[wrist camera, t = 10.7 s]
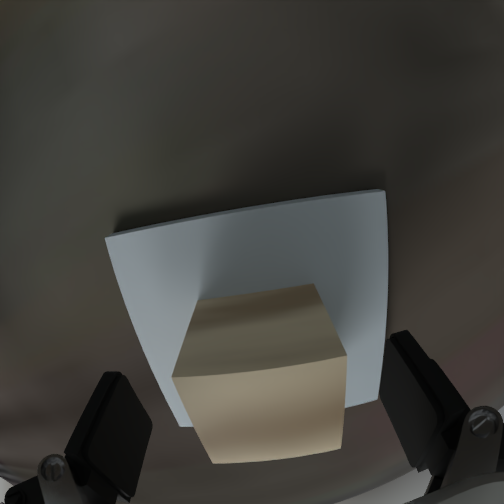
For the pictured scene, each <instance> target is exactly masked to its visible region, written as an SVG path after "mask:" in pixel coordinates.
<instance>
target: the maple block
mask: <svg viewBox="0 0 504 504" xmlns="http://www.w3.org/2000/svg"><path fill="white" fill-rule="evenodd" d="M346 376H347V354H346V351H345V349H344V347H343V345H342V343H341V340H340V338H339V336H338V334H337V332H336V330H335V327H334V325H333V323H332V321H331V319H330V317H329V314H328V312H327V310H326V308H325V306H324V304H323V302H322V300H321V298H320V295H319V293H318V291H317V289H316V287H315V285H314V283H312V284H306V285H300V286H294V287H288V288H281V289H275V290H268V291H262V292H255V293H248V294H241V295H234V296H226V297H219V298H211V299H204V300H197V303H196V306H195V309H194V312H193V315H192V317H191V320H190V323H189V326H188V329H187V332H186V335H185V338H184V341H183V344H182V346H181V349H180V352H179V355H178V358H177V361H176V364H175V367H174V370H173V374H172V377H171V378H172V381H173V383H174V385H175V388H176V390H177V392H178V394H179V397H180V399H181V401H182V403H183V405H184V407H185V410H186V412H187V414H188V416H189V418H190V420H191V422H192V424H193V426H194V428H195V430H196V432H197V434H198V436H199V438H200V440H201V442H202V444H203V446H204V448H205V450H206V452H207V453H208V455H209V457H210V459H211V461H212V463H241V462H255V461H267V460H276V459H284V458H292V457H298V456H305V455H311V454H316V453H322V452H327V451H332V450H336V449H341V441H342V432H343V421H344V409H345V394H346Z"/></svg>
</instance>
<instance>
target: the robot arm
mask: <svg viewBox="0 0 504 504" xmlns="http://www.w3.org/2000/svg"><path fill="white" fill-rule="evenodd" d="M379 394H380V398H381V401H382V403H383V405H384V407H385V409H386V411H387V414H388V416H389V418H390V420H391V422H392V424H393V427H394V429H395V431H396V433H397V436H398V438H399V440H400V442H401V445H402V447H403V449H404V451H405V454H406V456H407V458H408V461H409V463H410V465H411V466H412V467H416V468H417V471H418V472H421V471H423V470H426V469H429V471H430V473H431V475H432V477H431V480H430V483H429V485H428V487H427V490H426V492H425V494H424V496H422V497H419V498H417V499H414V500H412V501H410V502H407V503H404V504H504V423H503V419H502V417H501V415H500V413H499V412H498V411H497V410H496V409H494V408H492V407H489V406H479V407H475V408H474V409H472V410H470V408H469V407H468V405H467V404H466V403H465V401H464V400H463V398H462V397H461V395H460V394H459V393H458V391H457V390H456V388H455V387H454V386H453V384H452V383H451V382H450V380H449V379H448V377H447V376H446V375H445V373H444V372H443V371H442V369H441V368H440V367H439V365H438V364H437V363H436V362H435V361H434V360H433V359H430V358H429V357H428V356H427V354H426V353H425V352H424V350H423V349H422V348H421V347H420V345H419V344H418V343H417V341H416V340H415V339H414V338H413V336H412V335H411V334H410V332H409V331H408V330H404V331H400V332H397V333H393V334H391V336H390V339H387V341H386V348H385V356H384V363H383V371H382V377H381V384H380V390H379ZM151 431H152V421H151V419H150V417H149V416H148V414H147V412H146V411H145V409H144V408H143V406H142V404H141V402H140V401H139V399H138V397H137V396H136V394H135V392H134V390H133V388H132V387H131V385H130V383H129V381H128V379H127V378H126V376H124V375H122V373H121V372H105V373H104V374H103V376H102V377H101V379H100V381H99V383H98V385H97V387H96V389H95V390H94V392H93V394H92V396H91V398H90V400H89V402H88V404H87V406H86V408H85V410H84V412H83V414H82V416H81V417H80V419H79V421H78V424H77V426H76V428H75V430H74V432H73V434H72V436H71V438H70V440H69V442H68V444H67V446H66V448H65V451H64V453H65V454H66V455H65V458H64V457H63V456H61V455H59V454H51V455H48V456H46V457H45V458H43V459H42V460H41V462H40V463H39V465H38V469H37V475H38V476H35V477H33V478H31V479H29V480H27V481H24V482H22V483H20V484H17V485H15V486H13V487H11V488H9V490H8V491H7V492H6V495H5V499H4V500H5V504H115V503H116V500H117V501H122V502H127V503H130V499H131V497H133V496H134V495H135V492H136V488H137V484H138V480H139V476H140V472H141V468H142V464H143V460H144V457H145V453H146V449H147V445H148V442H149V438H150V435H151ZM0 504H4V503H3V502H1V503H0Z"/></svg>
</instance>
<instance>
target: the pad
mask: <svg viewBox="0 0 504 504" xmlns="http://www.w3.org/2000/svg"><path fill="white" fill-rule="evenodd" d="M105 241H106V245H107V248H108V252H109V255H110V258H111V262H112V265H113V268H114V272H115V275H116V278H117V281H118V284H119V287H120V290H121V293H122V296H123V299H124V302H125V304H126V307H127V310H128V313H129V315H130V318H131V321H132V323H133V326H134V328H135V331H136V334H137V336H138V338H139V341H140V343H141V346H142V348H143V351H144V353H145V355H146V358H147V360H148V362H149V364H150V367H151V369H152V371H153V373H154V375H155V378H156V380H157V382H158V384H159V386H160V388H161V390H162V392H163V394H164V396H165V398H166V400H167V402H168V404H169V406H170V408H171V410H172V412H173V414H174V416H175V418H176V420H177V422H178V423H179V425H180V427H190V426H193V424H192V422H191V420H190V418H189V416H188V414H187V412H186V410H185V407H184V405H183V403H182V401H181V399H180V397H179V394H178V392H177V390H176V388H175V385H174V383H173V381H172V378H171V377H172V374H173V370H174V367H175V364H176V361H177V358H178V355H179V352H180V349H181V346H182V344H183V341H184V338H185V335H186V332H187V329H188V326H189V323H190V320H191V317H192V315H193V312H194V309H195V306H196V303H197V300H204V299H211V298H219V297H226V296H234V295H241V294H248V293H255V292H262V291H268V290H275V289H281V288H288V287H294V286H300V285H306V284H312V283H314V285H315V287H316V289H317V291H318V293H319V295H320V298H321V300H322V302H323V304H324V306H325V308H326V310H327V312H328V314H329V317H330V319H331V321H332V323H333V325H334V327H335V330H336V332H337V334H338V336H339V338H340V340H341V343H342V345H343V347H344V349H345V351H346V354H347V376H346V394H345V408H346V407H350V406H354V405H358V404H362V403H366V402H370V401H373V400H377V398H378V391H379V385H380V378H381V370H382V362H383V353H384V343H385V331H386V317H387V297H388V227H387V208H386V194H385V191H383V190H380V189H372V190H364V191H356V192H347V193H340V194H332V195H324V196H317V197H310V198H303V199H296V200H289V201H283V202H276V203H270V204H263V205H257V206H251V207H245V208H239V209H233V210H228V211H222V212H216V213H211V214H205V215H200V216H194V217H189V218H184V219H179V220H174V221H169V222H164V223H159V224H154V225H149V226H144V227H139V228H135V229H130V230H125V231H121V232H116V233H112V234H111V235H109V236H107V237H106V238H105Z"/></svg>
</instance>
